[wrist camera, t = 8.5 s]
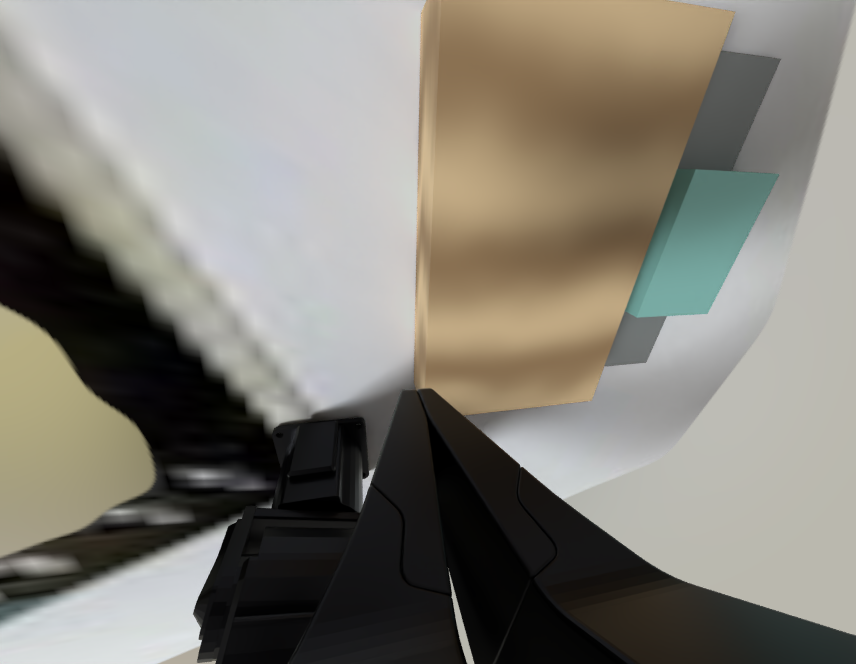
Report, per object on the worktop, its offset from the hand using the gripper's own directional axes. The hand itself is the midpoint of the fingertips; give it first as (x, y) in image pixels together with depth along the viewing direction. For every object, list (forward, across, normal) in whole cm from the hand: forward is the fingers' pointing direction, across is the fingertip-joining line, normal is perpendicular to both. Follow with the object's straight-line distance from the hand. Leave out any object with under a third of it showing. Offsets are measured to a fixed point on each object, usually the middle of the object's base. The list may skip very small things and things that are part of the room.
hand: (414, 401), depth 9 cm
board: (+12, -8, -2) cm, 14 cm away
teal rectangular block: (+9, -20, -3) cm, 22 cm away
